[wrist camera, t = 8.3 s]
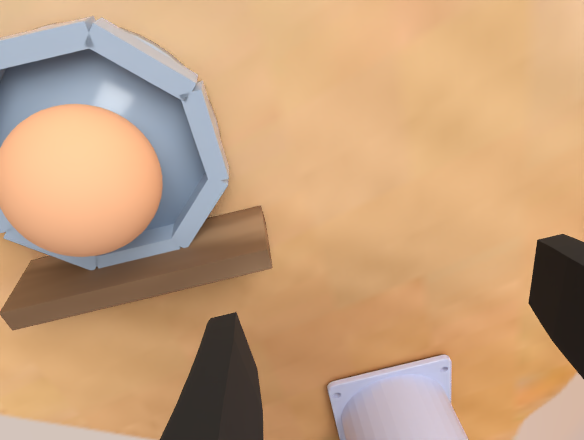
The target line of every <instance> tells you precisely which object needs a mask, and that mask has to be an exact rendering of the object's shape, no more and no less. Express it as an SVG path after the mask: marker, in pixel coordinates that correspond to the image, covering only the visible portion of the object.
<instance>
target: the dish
mask: <svg viewBox="0 0 584 440" xmlns="http://www.w3.org/2000/svg"><path fill="white" fill-rule="evenodd" d="M197 77H198V74H196V73H194V72H193V71H191V70H189V69H188V68H186V67H185V66H184V65H183V64H182V63H181V62H179V61H178V60H177V59H176V58H175V57H174V56H173V55H171V54H170V53H169V52H167V51H166V50H165V49H163V48H162V47H160V46H159V45H157V44H156V43H154V42H152V41H150V40H148V39H146V38H145V37H143V36H141V35H139V34H136V33H134V32H131V31H128V30H126V29H123V28H120V27H117V26H116V25H114V24H112V23H111V22H109V21H107V20H106V19H104V18H100V19H98V20H97V21H95V18H94V16H90V17H86V18H81V19H77V20H73V21H68V22H61V23H54V24H49V25H46V26H42V27H39V28H36V29H33V30H31V31H26V32H22V33H18V34H14V35H9V36H5V37H1V38H0V148H1V146H2V144H3V142H4V140H5V139H6V138H7V136H8V135H9V134H10V132H11V131H12V130H13V129H14V128H15V127H16V126H17V125H18V124H19V123H20V122H22V121H23V120H25V119H26V118H28V117H29V116H31V115H32V114H34V113H36V112H39V111H41V110H43V109H47V108H50V107H53V106H58V105H64V104H86V105H91V106H96V107H101V108H104V109H107V110H110V111H112V112H114V113H116V114H118V115H120V116H122V117H124V118H125V119H127V120H128V121H129V122H131V123H132V124H133V125H135V126H136V127H137V128H138V129H139V130H140V131H141V132H142V133H143V134H144V136H145V137H146V138H147V139H148V140H149V142H150V143H151V145H152V147H153V148H154V150H155V152H156V154H157V157H158V160H159V163H160V166H161V171H162V181H163V187H162V196H161V200H160V203H159V207H158V209H157V212H156V214H155V216H154V218H153V219H152V221H151V222H150V224H149V225H148V226H147V228H146V229H145V230H144V231H143V232H142V233H141V234H140V235H139V236H138V237H136V238H135V239H134V240H133V241H132V242H130V243H128V244H127V245H125V246H123V247H121V248H119V249H117V250H115V251H112V252H109V253H106V254H102V255H97V256H88V257H73V256H65V255H60V254H56V253H53V252H50V251H47V250H45V249H43V248H40V247H38V246H37V245H35V244H33V243H31V242H30V241H29V240H27V239H26V238H24V237H23V236H22V235H21V234H20V233H19V232H18V231H17V230H16V229H15V228H14V227H13V226H12V225H11V224H10V222H9V221H8V220H7V218H6V217H5V215H4V214H3V212H2V210H1V208H0V233H3V232H6V233H5V236H4V239H7V240H9V241H12V242H15V243H18V244H20V245H23V246H26V247H28V248H31V249H34V250H37V251H39V252H42V253H45V254H47V255H50V256H53V257H56V258H58V259H61V260H64V261H66V262H69V263H72V264H74V265H77V266H80V267H83V268H85V269H88V270H94V269H95V268H96V266H97V267H98V269H99V268H103V267H107V266H111V265H115V264H120V263H124V262H128V261H132V260H136V259H140V258H145V257H149V256H153V255H157V254H161V253H166V252H170V251H174V250H178V249H180V247H182V248H186V247H189V245H190V243H191V242H192V240H193V239H194V237H195V236H196V234H197V233H198V231H199V229H200V228H201V226H202V225H203V223H204V222H205V220H206V219H207V217H208V215H209V214H210V212H211V211H212V209H213V208H214V206H215V205H216V203H217V201H218V200H219V198H220V197H221V195H222V194H223V192H224V191H225V189H226V187H227V186H228V179H229V165H228V162H227V158H226V155H225V152H224V148H223V145H222V142H221V138H220V131H219V126H218V122H217V118H216V115H215V113H214V110H213V108H212V105H211V103H210V101H209V99H208V96H207V93H206V90H205V86H204V83H203V81H200V82H197Z"/></svg>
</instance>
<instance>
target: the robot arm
mask: <svg viewBox="0 0 584 440" xmlns="http://www.w3.org/2000/svg"><path fill="white" fill-rule="evenodd" d="M529 305H530V306H531V308H532V310H533V311H534V313H535V315H536V316H537V318H538V319H539V321H540V323H541V324H542V326H543V327H544V329H545V330H546V332H547V333H548V335H549V336H550V338H551V340H552V341H553V342H554V343H555V345H556V346H557V347H558V348H559V350H560V351H561V352H562V353H563V355H564V356H565V357H566V358H567V359H568V361H569V362H570V363H571V364H572V366H573V367H574V368H575V369H576V370H577V372H578V373H579V374H580V375H581V376H582V378H583V379H584V242H582V241H579V240H577V239H575V238H572V237H570V236H567V235H565V234H560V235H556V236H552V237H548V238H544V239H539V240H537V247H536V254H535V261H534V268H533V275H532V282H531V289H530V297H529ZM327 389H328V393H329V397H330V401H331V405H332V410H333V414H334V418H335V422H336V426H337V430H338V434H339V438H340V440H469V439H468V437H467V435H466V433H465V431H464V429H463V427H462V425H461V423H460V421H459V419H458V417H457V415H456V413H455V411H454V409H453V407H452V405H451V360H450V358H449V356H447V355H439V356H435V357H431V358H427V359H423V360H419V361H414V362H410V363H406V364H402V365H398V366H394V367H390V368H385V369H381V370H377V371H373V372H369V373H365V374H361V375H356V376H352V377H348V378H344V379H340V380H336V381H332V382H330V383H329V384H328V386H327ZM160 440H263V410H262V402H261V394H260V386H259V379H258V371H257V367H256V364H255V361H254V359H253V356H252V353H251V351H250V348H249V345H248V343H247V340H246V337H245V334H244V332H243V329H242V326H241V324H240V321H239V318H238V316H237V313H236V312H235V313H231V314H227V315H223V316H218V317H214V318H211V319H210V320H209V322H208V323H207V326H206V329H205V332H204V335H203V338H202V341H201V344H200V347H199V350H198V352H197V355H196V358H195V360H194V363H193V366H192V368H191V371H190V373H189V376H188V378H187V380H186V383H185V385H184V388H183V390H182V392H181V395H180V397H179V400H178V402H177V404H176V406H175V409H174V411H173V413H172V415H171V417H170V419H169V421H168V423H167V426H166V428H165V430H164V432H163V434H162V436H161V438H160Z"/></svg>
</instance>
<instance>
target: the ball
mask: <svg viewBox="0 0 584 440" xmlns="http://www.w3.org/2000/svg"><path fill="white" fill-rule="evenodd" d="M162 187H163V181H162V171H161V166H160V163H159V160H158V157H157V154H156V152H155V150H154V148H153V147H152V145H151V143H150V142H149V140H148V139H147V138H146V137H145V136H144V134H143V133H142V132H141V131H140V130H139V129H138V128H137V127H136V126H135V125H133V124H132V123H131V122H129V121H128V120H127V119H125V118H124V117H122V116H120V115H118V114H116V113H114V112H112V111H110V110H107V109H104V108H101V107H96V106H91V105H86V104H64V105H58V106H53V107H50V108H47V109H43V110H41V111H39V112H36V113H34V114H32V115H31V116H29V117H28V118H26V119H25V120H23V121H22V122H20V123H19V124H18V125H17V126H16V127H15V128H14V129H13V130H12V131H11V132H10V134H9V135H8V136H7V138H6V139H5V140H4V142H3V144H2V146H1V148H0V208H1V210H2V212H3V214H4V215H5V217H6V218H7V220H8V221H9V222H10V224H11V225H12V226H13V227H14V228H15V229H16V230H17V231H18V232H19V233H20V234H21V235H22V236H23V237H24V238H26V239H27V240H29V241H30V242H31V243H33V244H35V245H37V246H38V247H40V248H43V249H45V250H47V251H50V252H53V253H56V254H60V255H65V256H73V257H88V256H97V255H102V254H106V253H109V252H112V251H115V250H117V249H119V248H121V247H123V246H125V245H127V244H128V243H130V242H132V241H133V240H134V239H135V238H136V237H138V236H139V235H140V234H141V233H142V232H143V231H144V230H145V229H146V228H147V226H148V225H149V224H150V222H151V221H152V219H153V218H154V216H155V214H156V212H157V209H158V207H159V203H160V200H161V196H162Z"/></svg>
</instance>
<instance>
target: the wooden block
mask: <svg viewBox="0 0 584 440" xmlns="http://www.w3.org/2000/svg"><path fill="white" fill-rule="evenodd" d="M271 268H272V261H271V255H270V248H269V242H268V235H267V228H266V222H265V219H264V215H263V211H262V208H261V206H257V207H253V208H249V209H245V210H241V211H236V212H232V213H228V214H224V215H220V216H215V217H211V218H207V219H206V220H205V222H204V223H203V225H202V226H201V228H200V229H199V231H198V233H197V234H196V236H195V237H194V239H193V240H192V242H191V243H190V245H189V247H186V248H182V247H180V249H178V250H174V251H170V252H166V253H161V254H157V255H153V256H149V257H145V258H140V259H136V260H132V261H128V262H124V263H120V264H115V265H111V266H107V267H103V268H99V269H98V267H97V266H96V268H95V269H94V270H88V269H85V268H83V267H80V266H77V265H74V264H72V263H69V262H66V261H64V260H61V259H58V258H56V257H53V256H48V257H44V258H39V259H35V260H31V262H30V263H29V265H28V267H27V268H26V270H25V272H24V273H23V275H22V277H21V278H20V280H19V281H18V283H17V285H16V286H15V288H14V290H13V291H12V293H11V295H10V296H9V298H8V300H7V301H6V303H5V305H4V306H3V308H2V309H1V311H0V315H1V316H2V318H3V319H4V320H5V322H6V323H7V324H8V325H9V327H10V328H11V329H12V330H17V329H21V328H25V327H29V326H33V325H37V324H42V323H46V322H50V321H54V320H58V319H63V318H67V317H71V316H75V315H79V314H83V313H88V312H92V311H96V310H100V309H104V308H108V307H113V306H117V305H121V304H125V303H129V302H134V301H138V300H142V299H146V298H150V297H154V296H159V295H163V294H167V293H171V292H175V291H179V290H184V289H188V288H192V287H196V286H200V285H204V284H209V283H213V282H217V281H221V280H225V279H230V278H234V277H238V276H242V275H246V274H250V273H255V272H259V271H263V270H267V269H271Z"/></svg>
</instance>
